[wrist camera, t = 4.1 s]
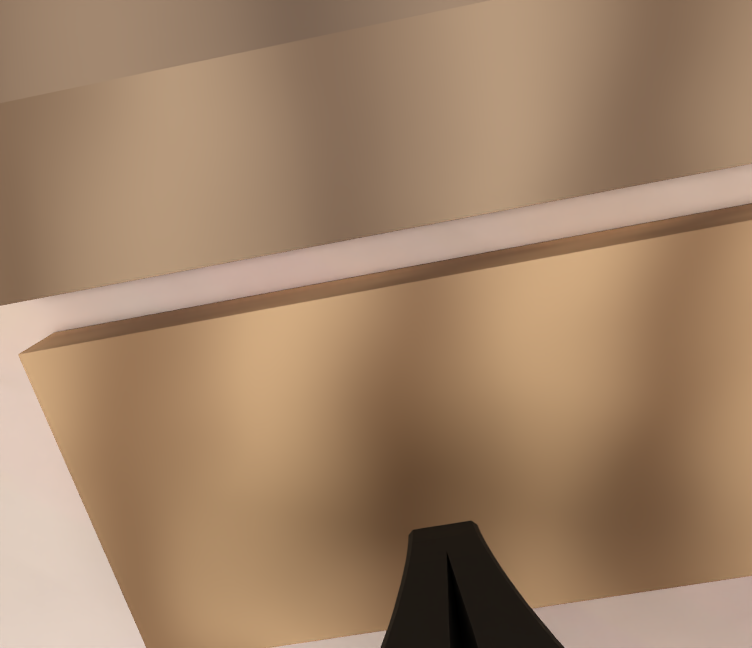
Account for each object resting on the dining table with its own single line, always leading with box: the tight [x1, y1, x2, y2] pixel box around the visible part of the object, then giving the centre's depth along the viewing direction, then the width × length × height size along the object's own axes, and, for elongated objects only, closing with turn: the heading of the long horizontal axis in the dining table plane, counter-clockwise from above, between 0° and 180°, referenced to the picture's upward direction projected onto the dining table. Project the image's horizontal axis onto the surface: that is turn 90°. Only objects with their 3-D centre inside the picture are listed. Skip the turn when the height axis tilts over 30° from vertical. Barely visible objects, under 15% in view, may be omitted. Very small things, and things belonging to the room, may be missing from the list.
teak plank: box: [18, 204, 752, 648], centre depth 14 cm, size 18×10×2 cm, turn 101°
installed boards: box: [0, 0, 752, 306], centre depth 11 cm, size 18×8×2 cm, turn 101°
